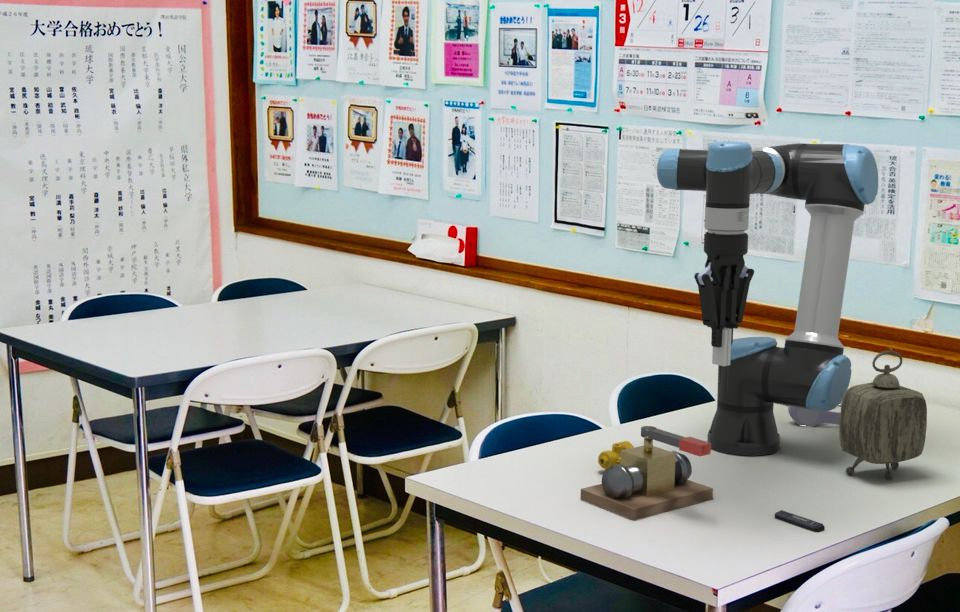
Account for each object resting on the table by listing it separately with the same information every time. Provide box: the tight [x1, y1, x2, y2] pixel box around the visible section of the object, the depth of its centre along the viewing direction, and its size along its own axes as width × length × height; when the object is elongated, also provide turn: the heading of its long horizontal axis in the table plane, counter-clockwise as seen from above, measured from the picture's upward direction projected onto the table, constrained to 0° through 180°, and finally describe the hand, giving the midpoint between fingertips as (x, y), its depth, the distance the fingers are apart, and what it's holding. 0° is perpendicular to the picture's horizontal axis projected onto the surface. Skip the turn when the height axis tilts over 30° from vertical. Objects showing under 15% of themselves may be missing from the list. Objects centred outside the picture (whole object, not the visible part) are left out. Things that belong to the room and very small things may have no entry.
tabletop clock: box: [838, 350, 928, 480], centre depth 238 cm, size 14×9×25 cm, turn 111°
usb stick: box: [774, 509, 826, 533], centre depth 213 cm, size 10×3×2 cm, turn 37°
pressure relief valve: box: [597, 440, 635, 472], centre depth 241 cm, size 6×12×10 cm
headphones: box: [787, 399, 843, 427], centre depth 285 cm, size 22×7×20 cm
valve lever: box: [640, 425, 712, 458], centre depth 218 cm, size 15×3×2 cm, turn 37°
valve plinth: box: [580, 479, 714, 521], centre depth 225 cm, size 20×14×2 cm
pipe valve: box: [601, 437, 693, 499], centre depth 224 cm, size 18×7×10 cm, turn 127°
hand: (721, 364), depth 217 cm, fingers closed
